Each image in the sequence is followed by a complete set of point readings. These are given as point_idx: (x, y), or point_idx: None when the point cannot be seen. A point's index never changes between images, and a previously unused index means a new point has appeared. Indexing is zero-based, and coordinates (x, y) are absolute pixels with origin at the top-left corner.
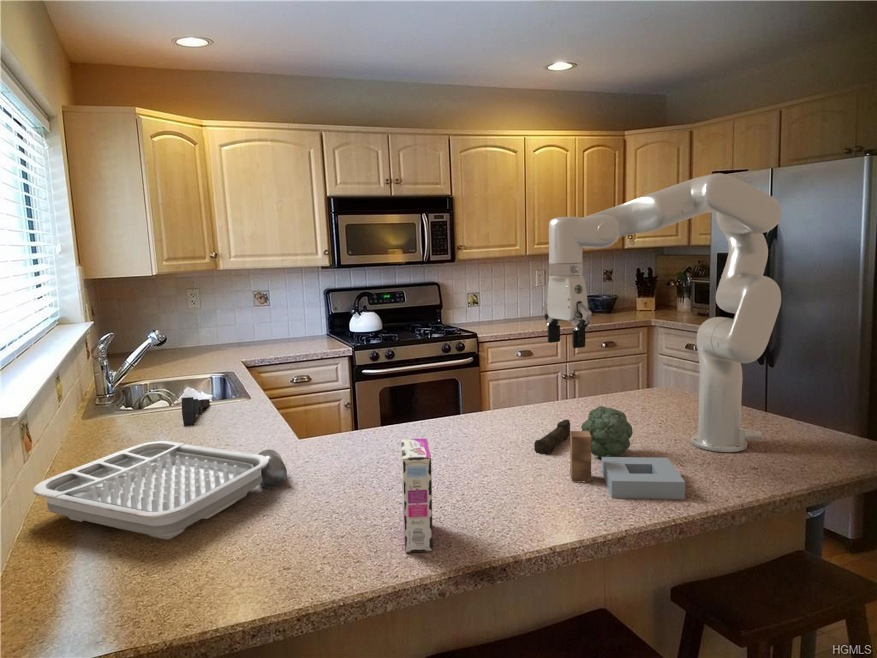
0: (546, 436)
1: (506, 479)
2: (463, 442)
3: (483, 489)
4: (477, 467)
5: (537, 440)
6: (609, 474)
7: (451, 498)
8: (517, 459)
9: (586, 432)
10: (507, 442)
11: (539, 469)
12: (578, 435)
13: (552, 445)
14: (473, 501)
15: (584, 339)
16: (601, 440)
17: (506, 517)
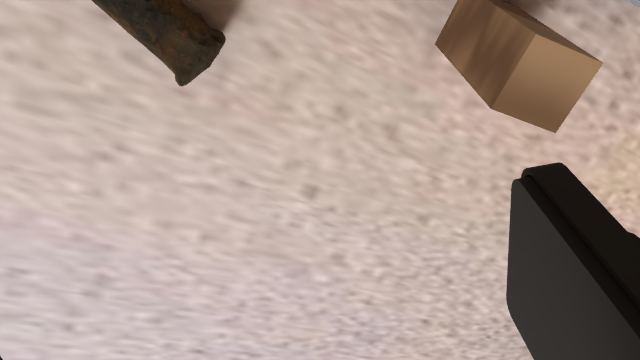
0: (147, 28)
1: (383, 221)
2: (16, 253)
3: (420, 282)
4: (268, 264)
5: (187, 81)
6: (636, 1)
7: (435, 342)
8: (235, 147)
9: (545, 53)
10: (34, 121)
11: (348, 115)
12: (558, 103)
13: (179, 3)
14: (471, 311)
15: (611, 233)
16: None
17: None
